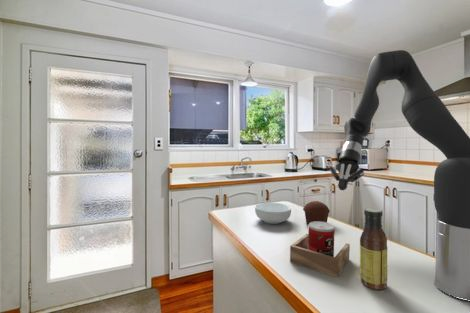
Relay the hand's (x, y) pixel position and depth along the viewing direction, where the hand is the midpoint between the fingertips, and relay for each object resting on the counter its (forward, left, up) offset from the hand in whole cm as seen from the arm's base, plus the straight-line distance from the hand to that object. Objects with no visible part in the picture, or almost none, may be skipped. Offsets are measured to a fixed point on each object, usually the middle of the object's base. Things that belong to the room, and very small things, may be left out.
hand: (341, 189), depth 90 cm
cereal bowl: (+22, -23, -20) cm, 37 cm away
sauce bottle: (+4, +28, -20) cm, 35 cm away
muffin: (+3, -19, -20) cm, 28 cm away
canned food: (+13, +14, -20) cm, 28 cm away
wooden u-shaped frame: (+13, +15, -20) cm, 28 cm away
